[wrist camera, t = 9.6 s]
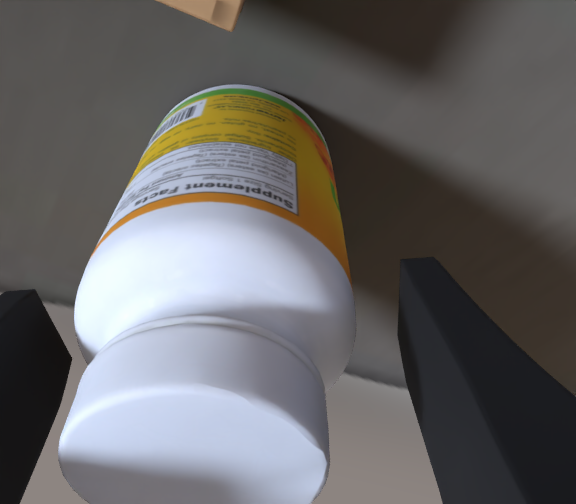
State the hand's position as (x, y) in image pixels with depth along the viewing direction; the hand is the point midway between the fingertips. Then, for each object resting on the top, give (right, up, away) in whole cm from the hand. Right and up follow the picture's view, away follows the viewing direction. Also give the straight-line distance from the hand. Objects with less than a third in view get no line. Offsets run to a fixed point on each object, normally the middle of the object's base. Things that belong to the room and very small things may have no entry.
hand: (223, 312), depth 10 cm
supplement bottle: (0, +4, +5) cm, 7 cm away
